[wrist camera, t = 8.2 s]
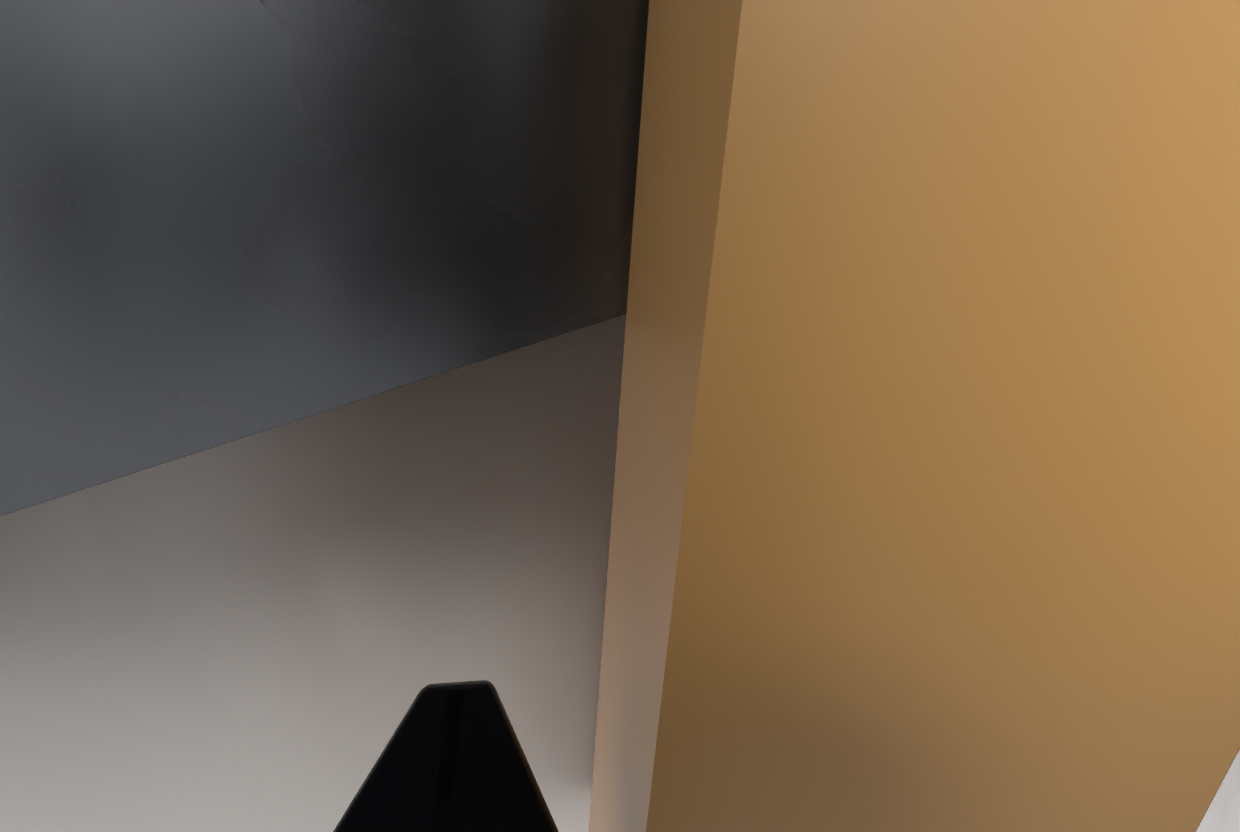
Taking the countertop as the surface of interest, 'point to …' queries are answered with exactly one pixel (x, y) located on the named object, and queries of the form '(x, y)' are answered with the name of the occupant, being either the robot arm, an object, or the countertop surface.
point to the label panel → (292, 210)
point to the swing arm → (928, 421)
